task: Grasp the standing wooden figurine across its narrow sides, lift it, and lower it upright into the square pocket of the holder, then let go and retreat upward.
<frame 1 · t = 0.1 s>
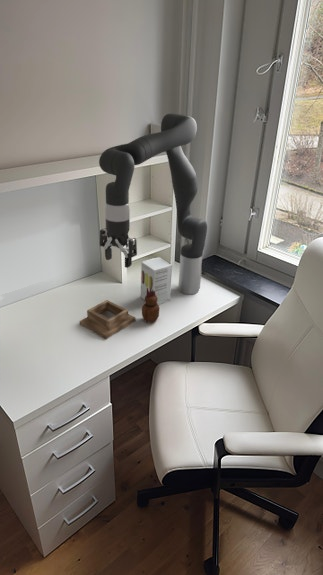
hand: (118, 262, 137), 29 cm above the table, fingers open, 8 cm apart
holder: (108, 322, 157), on the table
wooden figurine: (150, 320, 160), on the table
supplement box: (155, 299, 174), on the table
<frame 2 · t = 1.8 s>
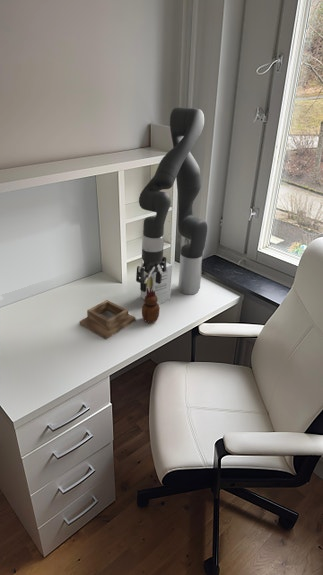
hand: (150, 287, 152), 15 cm above the table, fingers open, 8 cm apart
nothing on the table moved.
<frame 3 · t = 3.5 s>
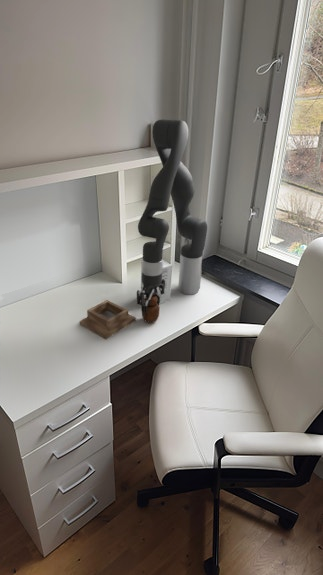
hand: (150, 308, 157), 5 cm above the table, fingers closed on wooden figurine, 6 cm apart
wooden figurine: (150, 320, 160), on the table, touching gripper
everything else where it was.
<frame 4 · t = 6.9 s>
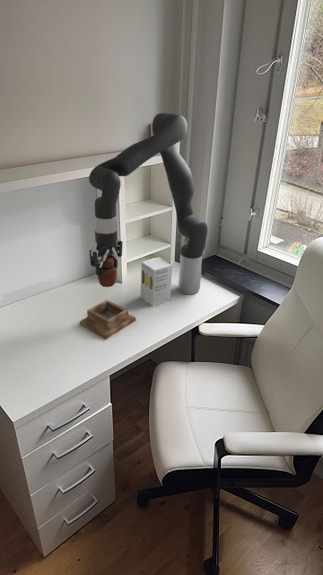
hand: (107, 272, 147), 22 cm above the table, fingers closed on wooden figurine, 6 cm apart
wooden figurine: (107, 285, 149), point 16 cm above the table, touching gripper
everything else where it was.
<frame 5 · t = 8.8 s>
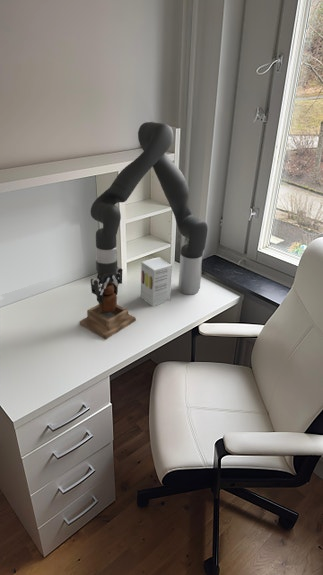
hand: (107, 298, 152), 11 cm above the table, fingers closed on wooden figurine, 6 cm apart
wooden figurine: (107, 310, 155), point 5 cm above the table, touching gripper
everything else where it was.
when the fingers open (8 cm above the table, at t = 10.5 s): wooden figurine stays where it is, resting on holder.
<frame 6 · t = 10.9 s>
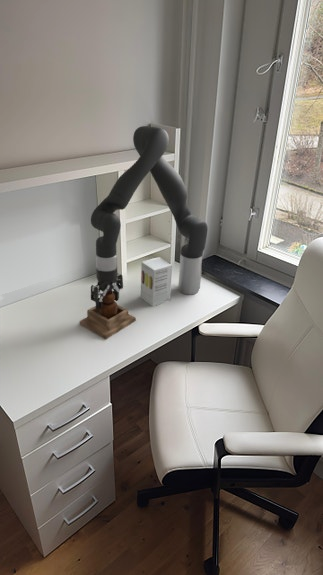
hand: (107, 304, 153), 8 cm above the table, fingers open, 8 cm apart
wooden figurine: (108, 319, 157), point 2 cm above the table, touching holder
everything else where it was.
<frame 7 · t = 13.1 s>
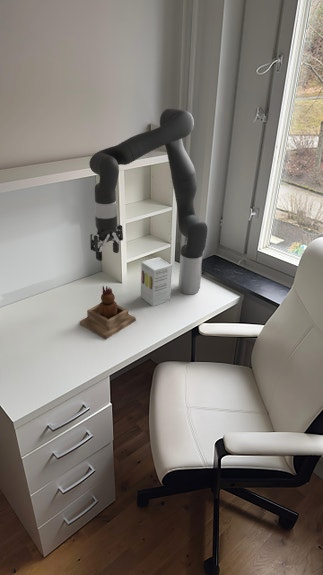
hand: (107, 256, 150), 25 cm above the table, fingers open, 8 cm apart
nothing on the table moved.
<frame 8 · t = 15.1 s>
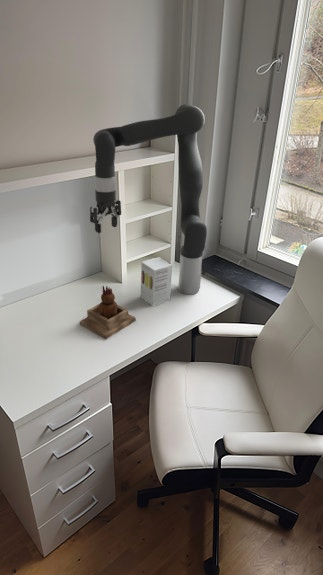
hand: (106, 229, 160), 30 cm above the table, fingers open, 8 cm apart
nothing on the table moved.
at the end: wooden figurine 0.2 cm off-centre on the holder, point 1.5 cm above the holder's base; wooden figurine tilted 0°; the gripper is holding nothing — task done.
